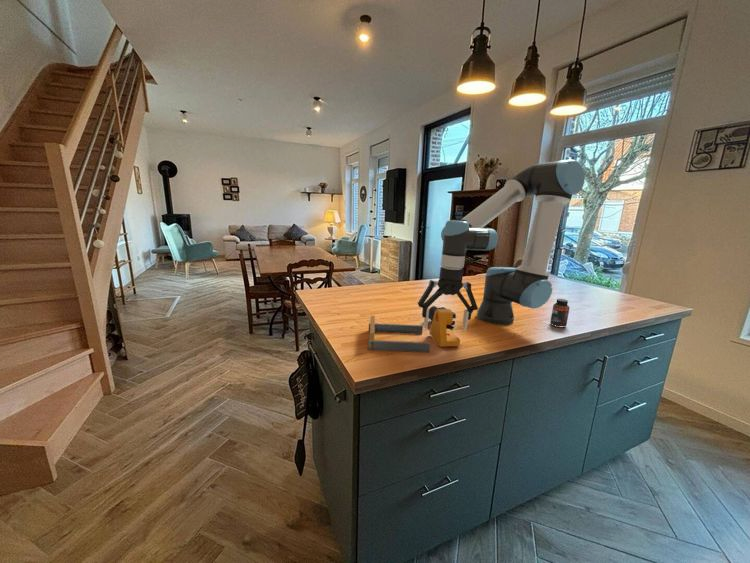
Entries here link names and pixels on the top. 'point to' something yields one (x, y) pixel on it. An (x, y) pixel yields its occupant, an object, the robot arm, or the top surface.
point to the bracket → (443, 328)
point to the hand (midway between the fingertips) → (444, 327)
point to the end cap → (431, 315)
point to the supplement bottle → (560, 313)
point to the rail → (396, 344)
